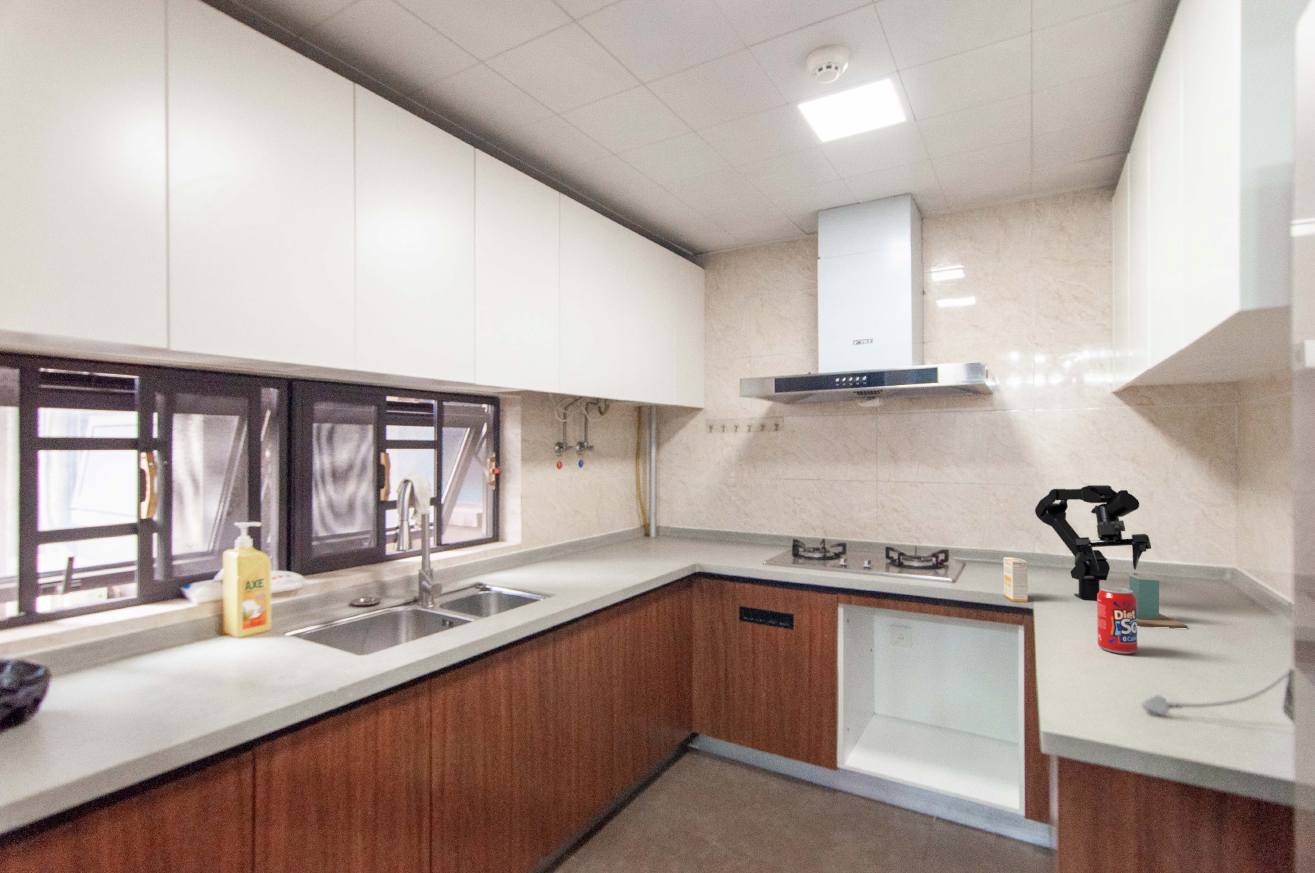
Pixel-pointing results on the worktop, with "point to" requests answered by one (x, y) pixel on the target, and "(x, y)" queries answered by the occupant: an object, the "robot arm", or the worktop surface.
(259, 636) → the worktop surface
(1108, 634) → the soda can
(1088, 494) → the robot arm
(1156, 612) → the tea tin
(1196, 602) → the worktop surface
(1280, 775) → the worktop surface
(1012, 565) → the supplement box
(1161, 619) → the walnut board
